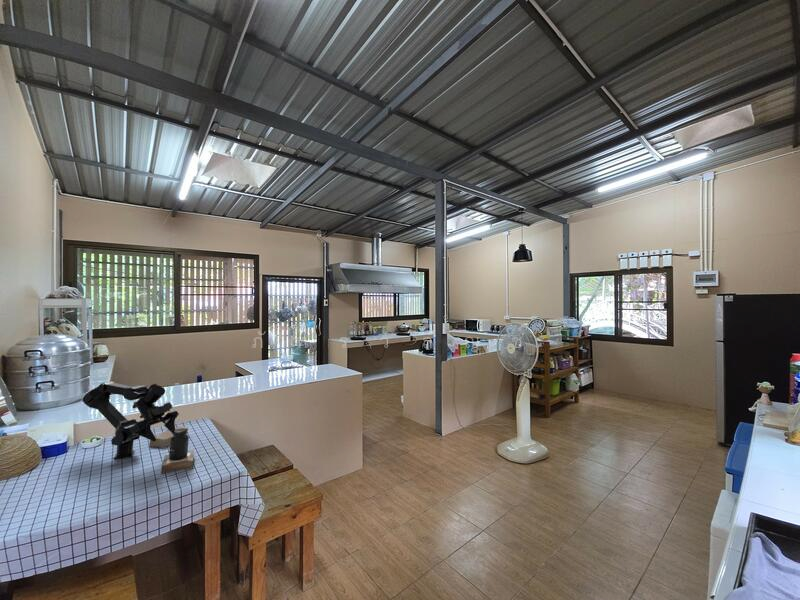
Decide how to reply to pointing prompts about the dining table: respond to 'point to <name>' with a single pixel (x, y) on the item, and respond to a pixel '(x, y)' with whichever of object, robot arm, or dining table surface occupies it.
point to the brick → (164, 438)
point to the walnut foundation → (177, 463)
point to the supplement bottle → (179, 445)
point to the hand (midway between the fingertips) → (165, 437)
